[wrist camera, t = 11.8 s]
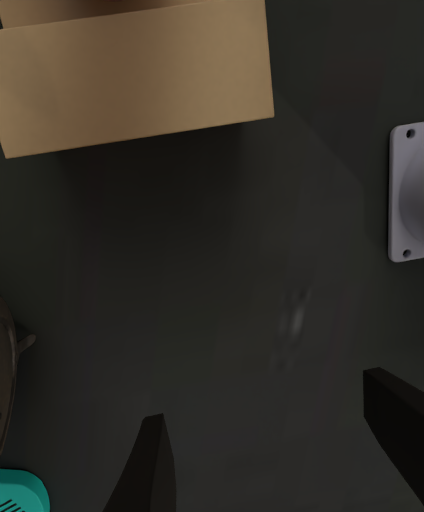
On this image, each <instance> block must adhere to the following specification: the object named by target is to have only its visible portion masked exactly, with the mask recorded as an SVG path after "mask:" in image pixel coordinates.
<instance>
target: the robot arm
mask: <svg viewBox="0 0 424 512" xmlns="http://www.w3.org/2000/svg"><path fill="white" fill-rule="evenodd" d="M408 130H410V131H411V135H410V137H409V138H407V136H406V133H407V131H408ZM406 249H407V253H406V254H405V255H403V252H404V251H405V250H406ZM388 257H389V259H390V260H392V261H394V262H402V261H408V260H413V259H418V258H424V122H419V123H413V124H407V125H401V126H397V127H395V128H394V129H393V130H392V131H391V133H390V154H389V220H388ZM363 391H364V417H365V419H366V421H367V423H368V425H369V427H370V429H371V430H372V432H373V434H374V436H375V437H376V439H377V441H378V443H379V444H380V446H381V447H382V448H383V450H384V451H385V453H386V454H387V456H388V457H389V458H390V460H391V461H392V463H393V464H394V465H395V467H396V468H397V469H398V471H399V472H400V474H401V475H402V476H403V478H404V479H405V480H406V482H407V483H408V485H409V486H410V487H411V489H412V490H413V491H414V493H415V494H416V496H417V497H418V498H419V500H420V501H421V502H422V504H423V505H424V392H422V391H421V390H419V389H417V388H415V387H414V386H412V385H410V384H409V383H407V382H405V381H403V380H402V379H400V378H398V377H396V376H395V375H393V374H391V373H390V372H388V371H386V370H384V369H382V368H380V367H377V368H372V369H368V370H363ZM103 512H176V480H175V468H174V458H173V453H172V449H171V445H170V441H169V437H168V432H167V428H166V424H165V420H164V416H163V413H162V414H158V415H153V416H148V417H145V418H144V419H143V421H142V424H141V428H140V431H139V433H138V436H137V439H136V442H135V444H134V447H133V449H132V452H131V454H130V456H129V459H128V461H127V463H126V466H125V468H124V470H123V472H122V475H121V477H120V479H119V481H118V483H117V485H116V487H115V489H114V491H113V493H112V495H111V497H110V499H109V501H108V503H107V504H106V506H105V508H104V510H103Z"/></svg>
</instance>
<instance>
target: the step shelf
mask: <svg viewBox="0 0 424 512" xmlns="http://www.w3.org/2000/svg"><path fill="white" fill-rule="evenodd" d="M0 18H1V22H2V25H3V29H0V142H1V145H2V148H3V151H4V155H5V157H6V158H7V159H9V158H15V157H22V156H28V155H35V154H41V153H47V152H54V151H60V150H67V149H73V148H80V147H86V146H92V145H99V144H105V143H112V142H118V141H125V140H131V139H137V138H144V137H150V136H157V135H163V134H170V133H176V132H182V131H189V130H195V129H202V128H208V127H215V126H221V125H227V124H234V123H240V122H247V121H253V120H260V119H266V118H272V117H274V106H273V94H272V82H271V70H270V58H269V46H268V34H267V22H266V10H265V0H123V1H104V0H0Z"/></svg>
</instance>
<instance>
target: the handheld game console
mask: <svg viewBox="0 0 424 512" xmlns="http://www.w3.org/2000/svg"><path fill="white" fill-rule="evenodd" d="M0 512H50V503H49V497H48V493H47V490H46V488H45V486H44V485H43V482H42V481H41V480H40V479H39V478H38V477H36V476H35V475H34V474H32V473H30V472H28V471H23V470H11V469H0Z"/></svg>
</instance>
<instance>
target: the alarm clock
mask: <svg viewBox="0 0 424 512" xmlns="http://www.w3.org/2000/svg"><path fill="white" fill-rule="evenodd" d="M35 339H36V338H35V335H33V334H31V335H29V336H28V337H26V338H24V339H22V340H20V341H18V342H17V340H16V331H15V326H14V322H13V318H12V315H11V312H10V310H9V308H8V306H7V304H6V302H5V301H4V300H3V298H2V297H1V296H0V456H1V453H2V450H3V446H4V443H5V439H6V435H7V431H8V426H9V422H10V417H11V412H12V406H13V401H14V394H15V385H16V374H17V363H18V360H19V355H20V353H21V352H22V351H24V350H25V349H26V348H27V347H29V346H31V345H32V344H33V343H34V342H35Z"/></svg>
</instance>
